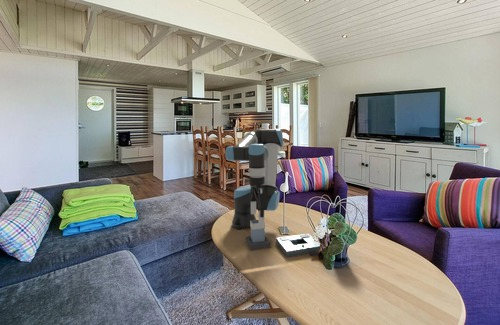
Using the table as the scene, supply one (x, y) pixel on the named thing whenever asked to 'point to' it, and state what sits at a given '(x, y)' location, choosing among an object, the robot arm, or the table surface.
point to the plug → (257, 231)
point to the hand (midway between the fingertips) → (257, 218)
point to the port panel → (298, 245)
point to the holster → (257, 244)
